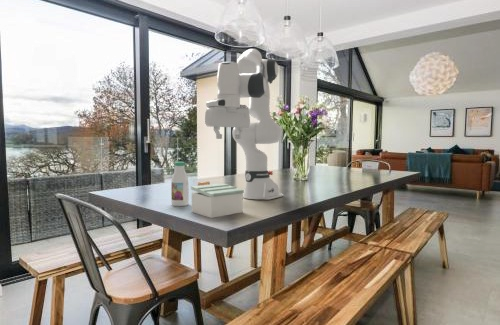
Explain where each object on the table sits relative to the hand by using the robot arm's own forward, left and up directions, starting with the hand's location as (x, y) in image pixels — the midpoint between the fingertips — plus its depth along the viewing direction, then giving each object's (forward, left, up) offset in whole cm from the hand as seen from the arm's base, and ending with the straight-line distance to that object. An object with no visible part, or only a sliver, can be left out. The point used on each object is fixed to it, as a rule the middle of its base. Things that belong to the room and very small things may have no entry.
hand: (228, 138), depth 129 cm
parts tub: (0, -8, -31) cm, 31 cm away
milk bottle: (+4, -31, -31) cm, 44 cm away
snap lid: (0, 0, -22) cm, 22 cm away
